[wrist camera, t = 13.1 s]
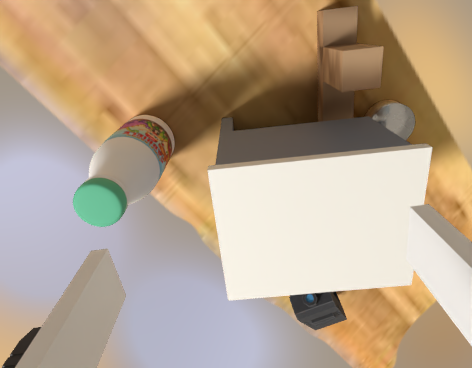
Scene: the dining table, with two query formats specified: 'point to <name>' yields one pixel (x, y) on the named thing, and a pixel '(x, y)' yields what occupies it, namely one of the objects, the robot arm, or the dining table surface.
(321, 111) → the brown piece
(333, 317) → the tool
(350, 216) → the cabinet
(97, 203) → the milk bottle
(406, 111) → the puck
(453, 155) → the dining table surface
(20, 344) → the robot arm
